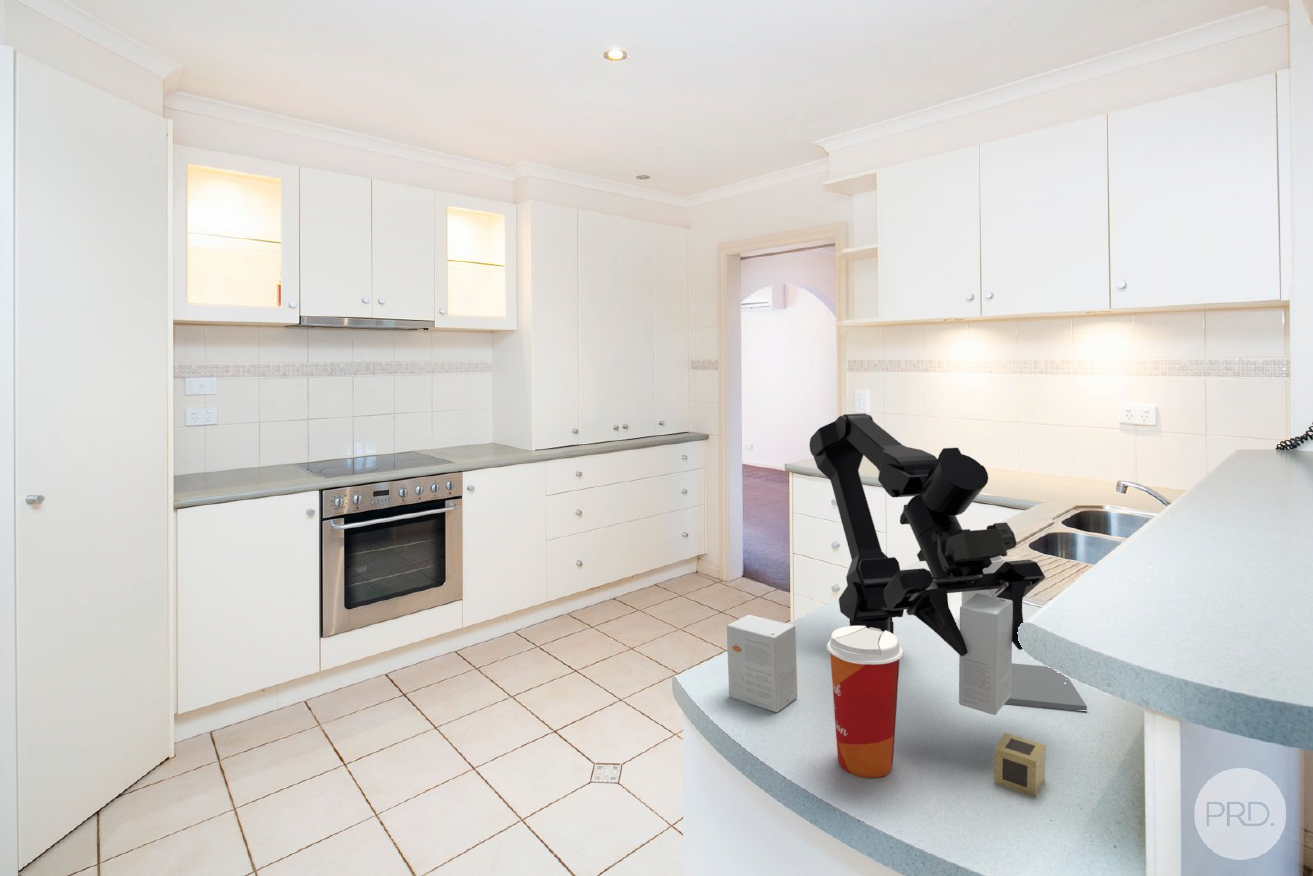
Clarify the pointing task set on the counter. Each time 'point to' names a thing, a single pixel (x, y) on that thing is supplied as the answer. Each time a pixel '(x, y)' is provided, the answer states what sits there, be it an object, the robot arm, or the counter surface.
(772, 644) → the small box
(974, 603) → the skincare box
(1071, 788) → the counter surface
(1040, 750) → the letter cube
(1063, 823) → the counter surface
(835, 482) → the robot arm
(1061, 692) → the slate pad
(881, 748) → the coffee cup
